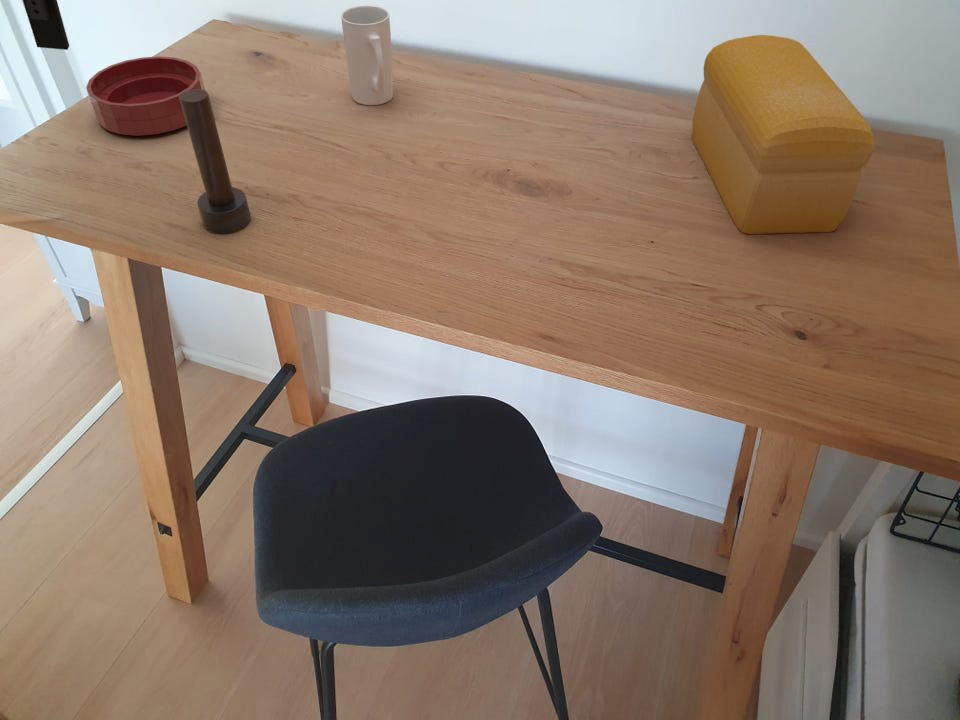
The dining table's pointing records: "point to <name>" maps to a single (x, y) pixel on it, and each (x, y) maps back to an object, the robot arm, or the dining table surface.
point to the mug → (368, 54)
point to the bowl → (143, 94)
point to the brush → (213, 168)
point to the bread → (778, 137)
